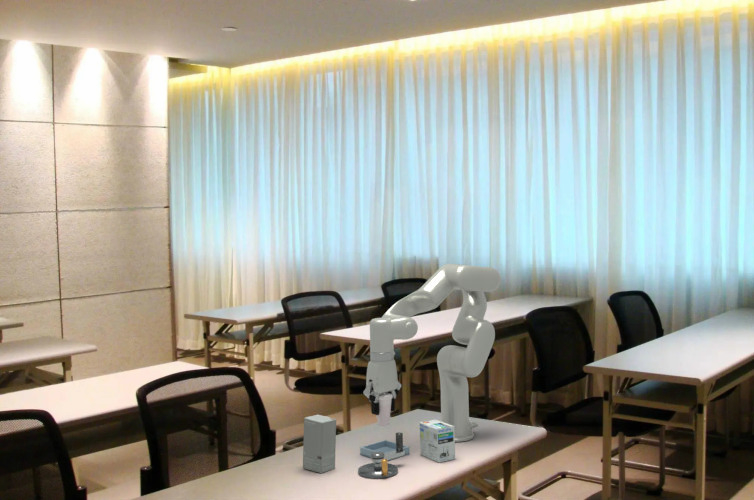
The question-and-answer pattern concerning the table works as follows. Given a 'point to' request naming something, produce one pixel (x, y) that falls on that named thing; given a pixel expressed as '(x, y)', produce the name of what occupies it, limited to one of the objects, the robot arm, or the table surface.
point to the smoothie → (384, 408)
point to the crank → (399, 452)
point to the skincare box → (319, 443)
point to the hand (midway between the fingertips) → (383, 411)
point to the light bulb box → (437, 440)
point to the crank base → (378, 470)
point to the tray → (381, 448)
